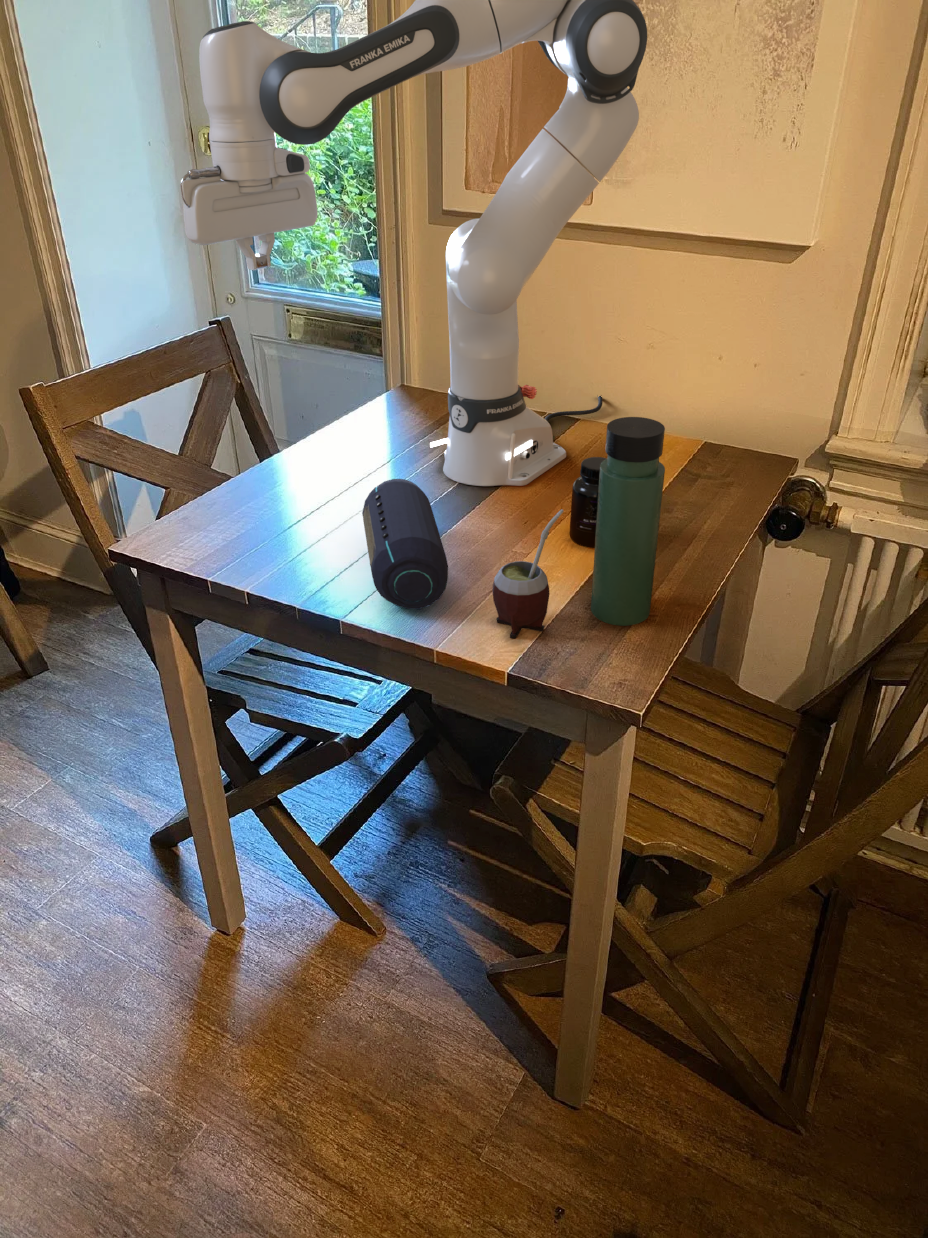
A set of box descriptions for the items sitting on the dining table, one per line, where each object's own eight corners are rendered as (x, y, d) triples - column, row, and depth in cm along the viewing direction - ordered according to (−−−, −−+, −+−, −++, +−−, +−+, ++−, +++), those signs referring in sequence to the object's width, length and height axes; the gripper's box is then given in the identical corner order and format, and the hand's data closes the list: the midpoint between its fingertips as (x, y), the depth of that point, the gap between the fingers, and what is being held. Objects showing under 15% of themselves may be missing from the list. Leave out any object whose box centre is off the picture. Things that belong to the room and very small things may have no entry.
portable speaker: (363, 534, 141) (357, 472, 136) (429, 528, 142) (426, 467, 137) (377, 624, 120) (371, 555, 115) (454, 616, 121) (452, 548, 116)
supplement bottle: (586, 553, 135) (590, 476, 128) (560, 534, 140) (563, 459, 133) (625, 542, 137) (631, 466, 131) (598, 524, 142) (603, 449, 136)
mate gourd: (484, 635, 118) (484, 528, 109) (505, 603, 124) (505, 500, 116) (542, 646, 115) (545, 537, 107) (559, 613, 121) (564, 508, 113)
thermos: (614, 588, 126) (629, 410, 113) (661, 609, 122) (682, 426, 108) (578, 610, 122) (589, 427, 108) (626, 632, 117) (643, 444, 104)
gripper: (190, 172, 120) (208, 284, 128) (318, 156, 132) (328, 259, 140) (165, 168, 124) (184, 277, 132) (292, 153, 136) (302, 253, 144)
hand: (259, 268), depth 136 cm, fingers closed
